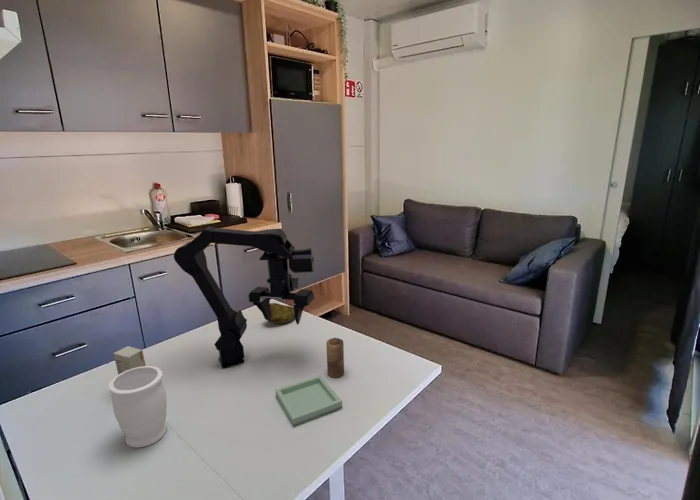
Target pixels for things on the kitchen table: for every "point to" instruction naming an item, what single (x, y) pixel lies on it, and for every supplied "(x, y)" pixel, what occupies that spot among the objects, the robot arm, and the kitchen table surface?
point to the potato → (281, 313)
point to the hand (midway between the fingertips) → (283, 322)
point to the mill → (335, 358)
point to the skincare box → (129, 359)
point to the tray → (308, 400)
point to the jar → (140, 405)
